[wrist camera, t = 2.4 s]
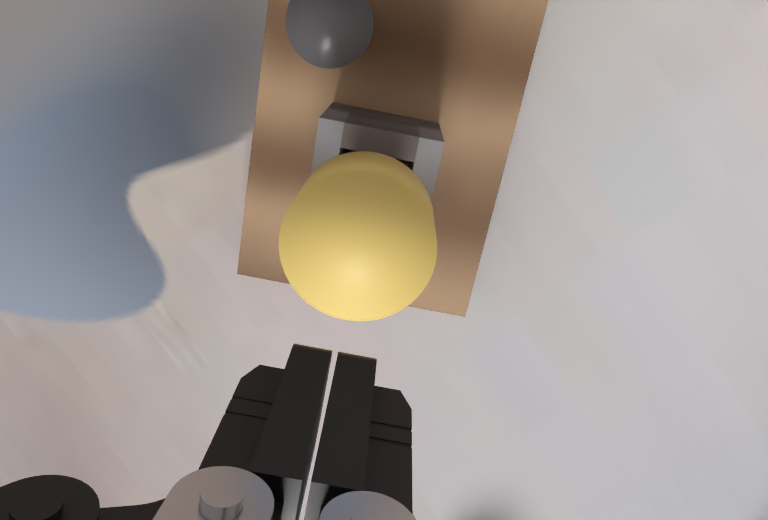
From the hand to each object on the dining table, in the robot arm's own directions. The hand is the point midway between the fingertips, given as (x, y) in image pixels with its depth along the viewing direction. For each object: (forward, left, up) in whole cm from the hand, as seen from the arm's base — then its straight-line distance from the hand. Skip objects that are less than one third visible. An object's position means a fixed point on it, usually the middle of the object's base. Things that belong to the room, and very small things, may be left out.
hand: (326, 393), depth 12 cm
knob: (0, 0, -16) cm, 16 cm away
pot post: (-6, -2, -20) cm, 21 cm away
